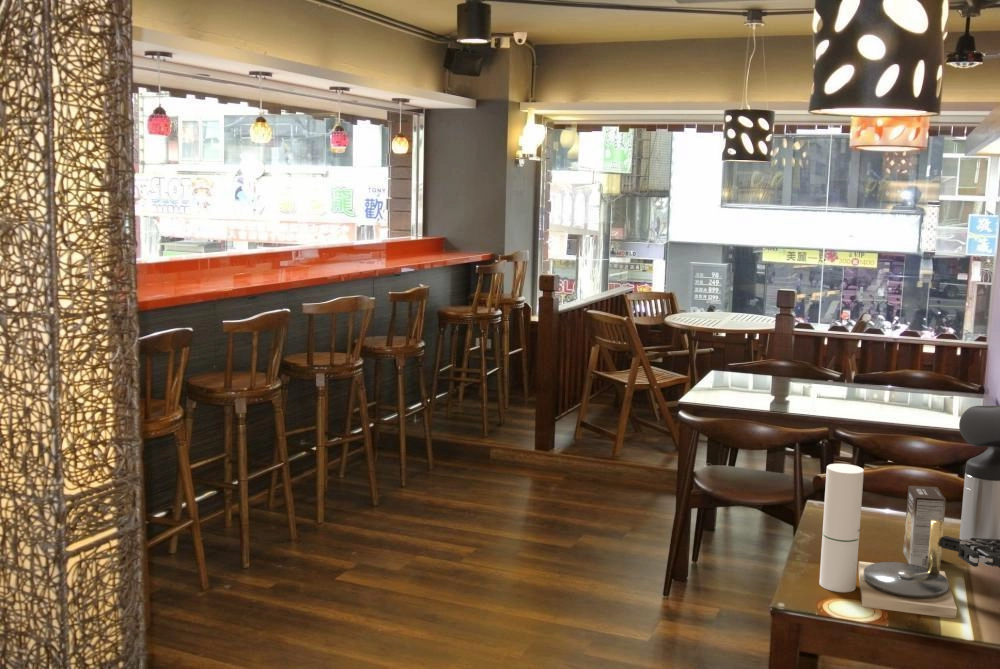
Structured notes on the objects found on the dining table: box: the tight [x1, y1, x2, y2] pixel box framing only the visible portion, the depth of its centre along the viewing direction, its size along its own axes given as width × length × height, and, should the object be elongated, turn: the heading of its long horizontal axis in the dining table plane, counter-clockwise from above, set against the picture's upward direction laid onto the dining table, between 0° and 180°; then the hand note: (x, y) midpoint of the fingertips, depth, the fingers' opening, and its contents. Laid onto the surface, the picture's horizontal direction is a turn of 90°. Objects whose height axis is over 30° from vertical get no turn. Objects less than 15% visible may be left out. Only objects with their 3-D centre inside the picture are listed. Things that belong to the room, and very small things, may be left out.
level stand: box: [857, 560, 958, 619], centre depth 205 cm, size 20×17×2 cm
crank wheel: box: [863, 519, 950, 598], centre depth 204 cm, size 16×16×12 cm
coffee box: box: [903, 485, 946, 568], centre depth 221 cm, size 9×6×16 cm
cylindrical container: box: [818, 463, 865, 593], centre depth 207 cm, size 7×7×25 cm
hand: (942, 541), depth 205 cm, fingers closed
